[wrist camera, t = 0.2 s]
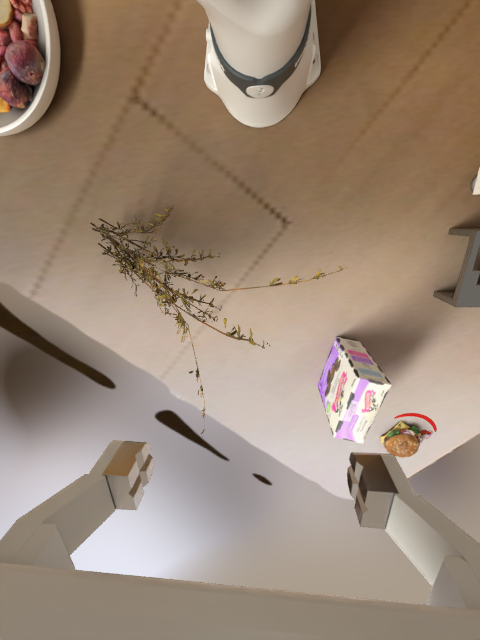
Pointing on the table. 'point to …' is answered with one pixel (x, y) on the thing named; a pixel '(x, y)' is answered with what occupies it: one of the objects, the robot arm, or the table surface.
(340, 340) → the candy box
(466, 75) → the table surface
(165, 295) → the dried plant
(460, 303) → the grey stepped cutout plate
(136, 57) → the table surface
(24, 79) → the bowl
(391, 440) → the hamburger
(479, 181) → the power strip
